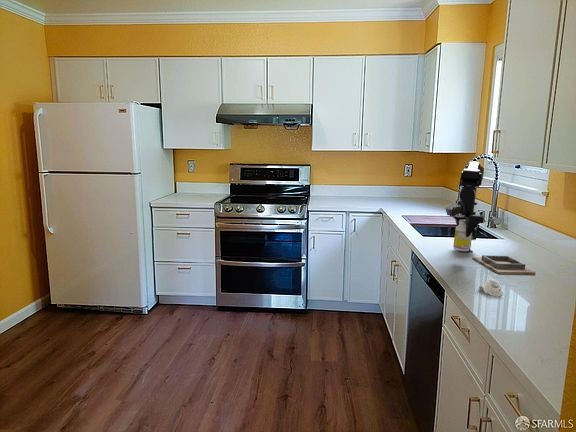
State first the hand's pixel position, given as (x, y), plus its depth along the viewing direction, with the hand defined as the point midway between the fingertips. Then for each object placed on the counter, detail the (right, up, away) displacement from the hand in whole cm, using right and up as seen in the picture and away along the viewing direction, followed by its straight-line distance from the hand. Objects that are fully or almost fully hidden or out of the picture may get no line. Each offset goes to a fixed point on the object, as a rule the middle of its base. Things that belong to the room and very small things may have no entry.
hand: (463, 234), depth 172 cm
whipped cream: (-4, -19, -31) cm, 37 cm away
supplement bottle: (0, -7, +1) cm, 7 cm away
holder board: (+17, -14, 0) cm, 22 cm away
